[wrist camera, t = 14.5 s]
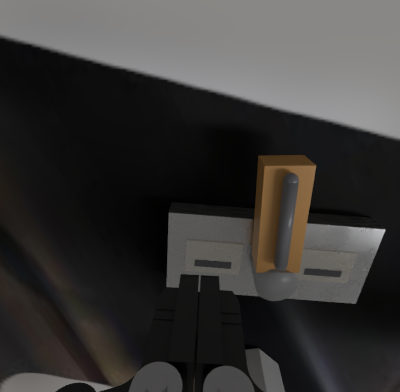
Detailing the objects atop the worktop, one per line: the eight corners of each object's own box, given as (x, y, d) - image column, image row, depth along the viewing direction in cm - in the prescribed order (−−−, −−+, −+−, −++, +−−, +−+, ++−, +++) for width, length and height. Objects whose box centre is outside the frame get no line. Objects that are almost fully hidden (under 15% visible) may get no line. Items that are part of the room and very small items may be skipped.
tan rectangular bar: (286, 280, 30) (298, 310, 26) (250, 280, 30) (255, 310, 26) (304, 155, 24) (321, 170, 21) (258, 155, 24) (267, 170, 21)
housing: (372, 217, 30) (387, 231, 28) (345, 288, 34) (356, 305, 32) (171, 202, 30) (168, 213, 28) (169, 274, 34) (166, 291, 32)
